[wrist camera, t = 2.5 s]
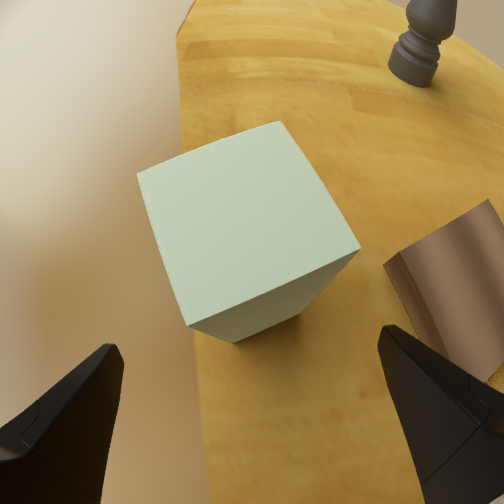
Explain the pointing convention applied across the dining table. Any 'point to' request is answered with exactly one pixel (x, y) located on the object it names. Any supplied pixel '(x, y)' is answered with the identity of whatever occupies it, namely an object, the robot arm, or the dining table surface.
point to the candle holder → (422, 40)
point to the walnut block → (457, 290)
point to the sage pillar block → (245, 231)
